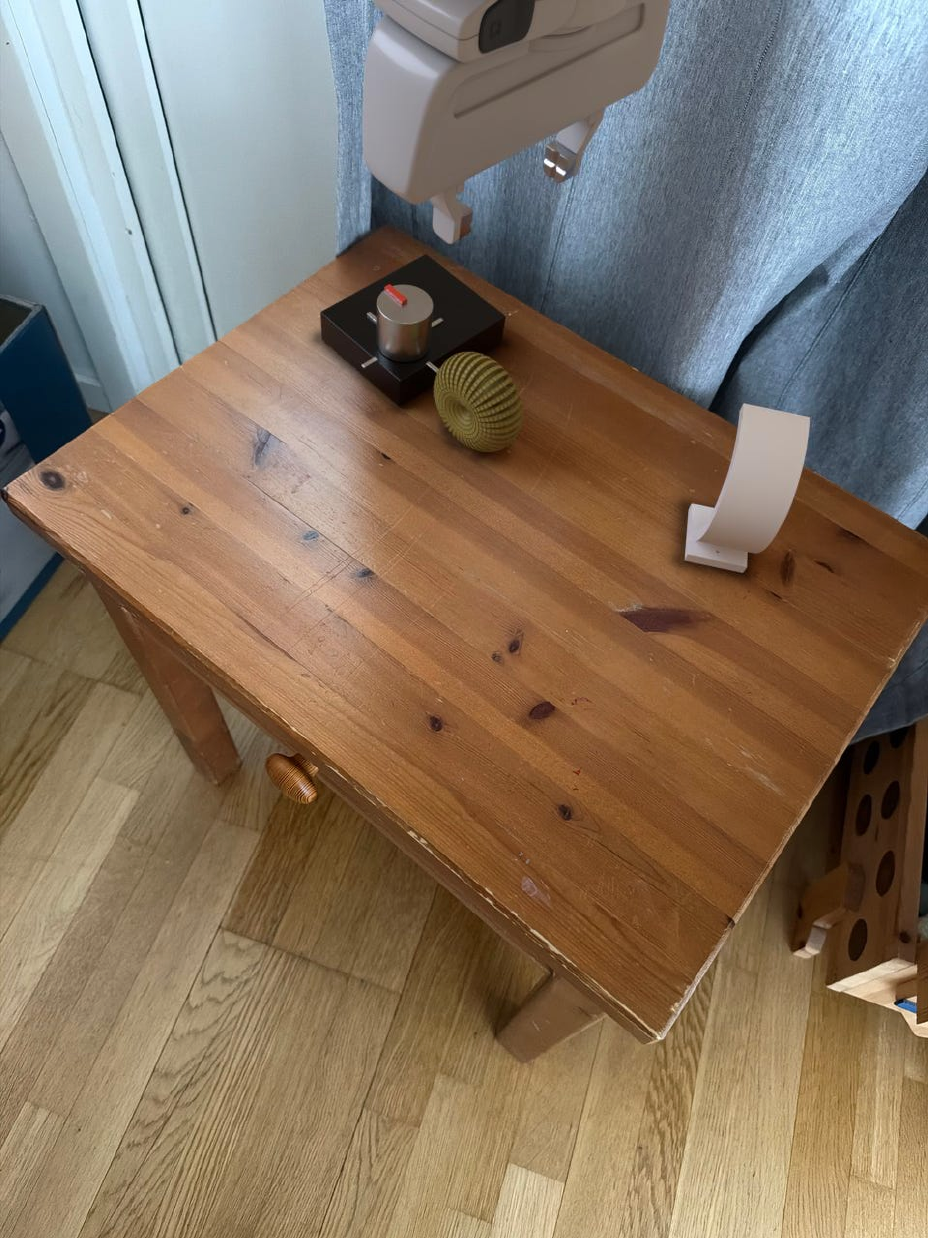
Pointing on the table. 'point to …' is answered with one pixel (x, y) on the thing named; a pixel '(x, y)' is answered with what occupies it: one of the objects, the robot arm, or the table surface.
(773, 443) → the headphone stand
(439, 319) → the panel
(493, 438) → the sculpture
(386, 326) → the dial
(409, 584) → the table surface
